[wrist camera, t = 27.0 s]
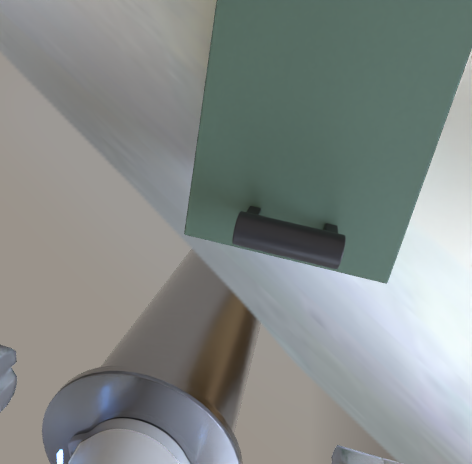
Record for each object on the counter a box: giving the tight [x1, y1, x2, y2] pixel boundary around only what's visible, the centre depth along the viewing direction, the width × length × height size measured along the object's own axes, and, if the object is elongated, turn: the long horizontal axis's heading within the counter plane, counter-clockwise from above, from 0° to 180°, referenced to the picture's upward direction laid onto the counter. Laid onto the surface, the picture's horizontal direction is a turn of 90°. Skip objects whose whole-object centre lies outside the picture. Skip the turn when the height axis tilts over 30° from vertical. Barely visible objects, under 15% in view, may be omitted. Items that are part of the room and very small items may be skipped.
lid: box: [184, 0, 472, 283], centre depth 20 cm, size 16×13×5 cm
